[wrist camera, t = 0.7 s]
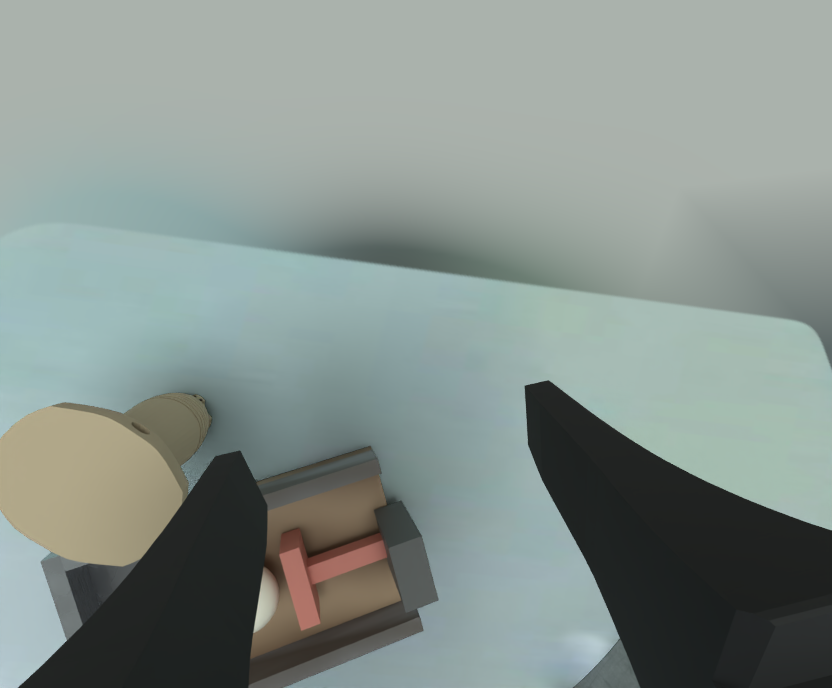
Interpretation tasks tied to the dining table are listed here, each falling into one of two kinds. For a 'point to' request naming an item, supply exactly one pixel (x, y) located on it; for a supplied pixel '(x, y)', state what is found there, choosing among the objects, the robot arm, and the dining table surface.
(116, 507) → the handle
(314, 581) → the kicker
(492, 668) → the dining table surface
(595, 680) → the hip flask
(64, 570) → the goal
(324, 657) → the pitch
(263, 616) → the ball
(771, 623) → the robot arm
